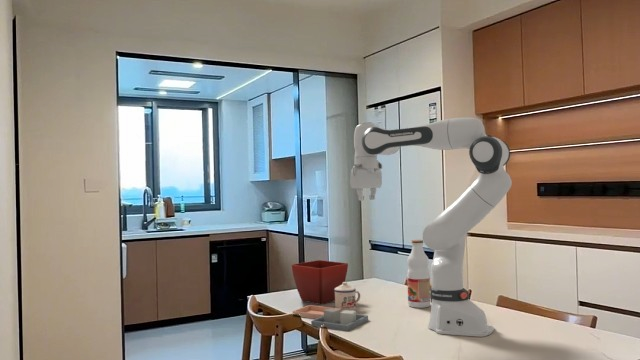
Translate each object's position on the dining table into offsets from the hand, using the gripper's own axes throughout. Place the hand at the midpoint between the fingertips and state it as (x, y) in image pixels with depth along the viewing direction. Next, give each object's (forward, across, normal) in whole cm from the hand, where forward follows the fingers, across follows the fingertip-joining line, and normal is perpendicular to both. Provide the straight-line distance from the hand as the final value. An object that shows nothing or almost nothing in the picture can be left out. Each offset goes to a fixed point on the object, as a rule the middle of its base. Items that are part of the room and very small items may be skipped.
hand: (366, 200), depth 203 cm
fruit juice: (+46, +29, -9) cm, 55 cm away
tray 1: (+46, -5, +21) cm, 51 cm away
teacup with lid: (+46, +10, +15) cm, 50 cm away
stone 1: (+46, -13, +10) cm, 48 cm away
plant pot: (+46, +20, +35) cm, 61 cm away
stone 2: (+46, -13, +3) cm, 47 cm away
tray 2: (+46, -13, +6) cm, 48 cm away
